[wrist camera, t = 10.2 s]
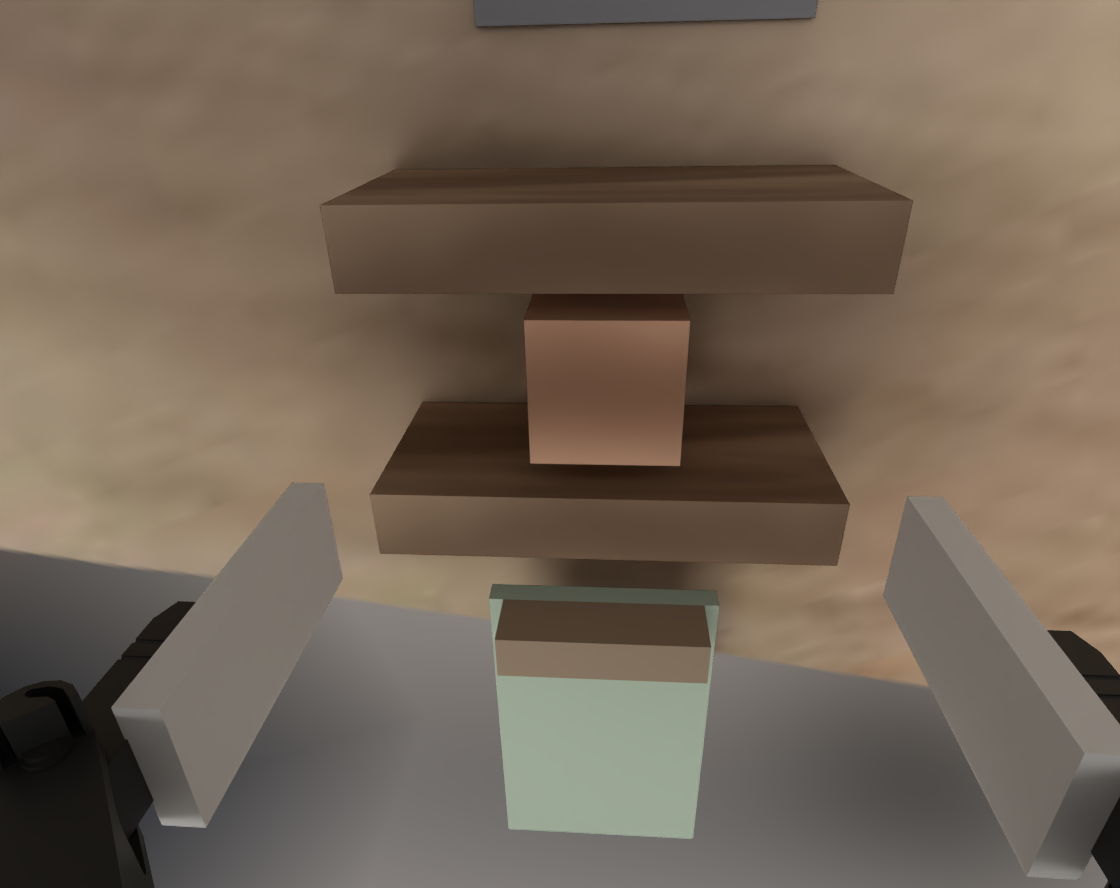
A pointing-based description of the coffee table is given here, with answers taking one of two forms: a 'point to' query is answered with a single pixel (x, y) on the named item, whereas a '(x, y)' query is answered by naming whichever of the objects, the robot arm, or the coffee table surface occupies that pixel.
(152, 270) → the coffee table surface
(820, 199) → the brown parallel walls
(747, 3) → the mat
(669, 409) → the block
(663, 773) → the cover
